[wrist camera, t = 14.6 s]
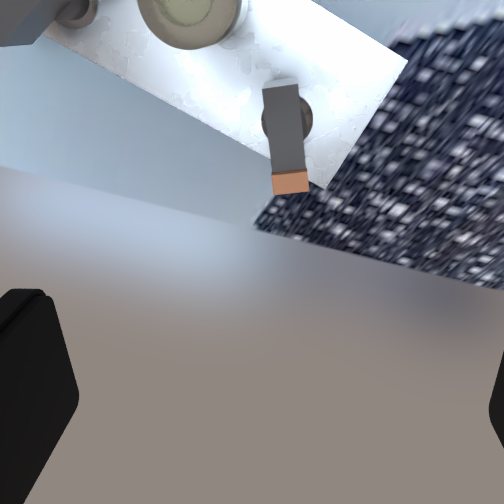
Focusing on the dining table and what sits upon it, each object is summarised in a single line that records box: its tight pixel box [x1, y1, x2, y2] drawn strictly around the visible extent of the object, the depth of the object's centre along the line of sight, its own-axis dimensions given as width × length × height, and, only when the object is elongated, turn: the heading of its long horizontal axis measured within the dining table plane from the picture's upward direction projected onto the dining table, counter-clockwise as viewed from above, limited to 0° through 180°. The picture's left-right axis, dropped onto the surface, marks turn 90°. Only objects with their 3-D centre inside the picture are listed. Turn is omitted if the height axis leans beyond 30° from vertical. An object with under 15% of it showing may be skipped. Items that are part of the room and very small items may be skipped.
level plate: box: [42, 0, 408, 189], centre depth 27 cm, size 26×10×9 cm, turn 62°
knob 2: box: [262, 77, 309, 195], centre depth 28 cm, size 6×3×6 cm, turn 8°
